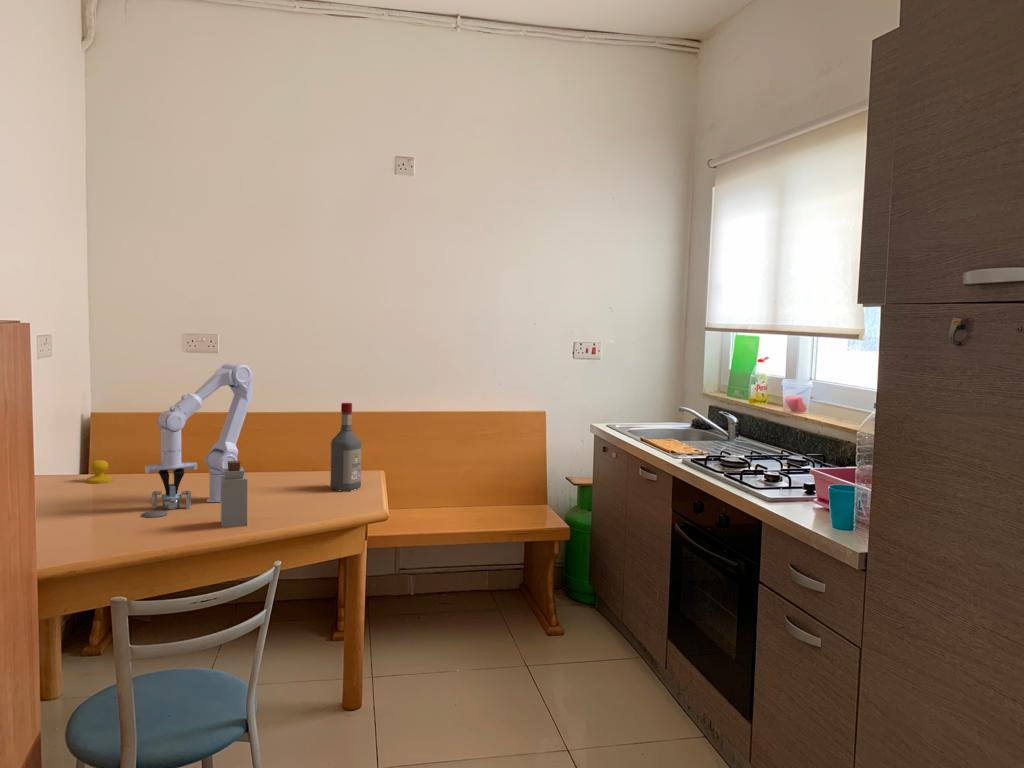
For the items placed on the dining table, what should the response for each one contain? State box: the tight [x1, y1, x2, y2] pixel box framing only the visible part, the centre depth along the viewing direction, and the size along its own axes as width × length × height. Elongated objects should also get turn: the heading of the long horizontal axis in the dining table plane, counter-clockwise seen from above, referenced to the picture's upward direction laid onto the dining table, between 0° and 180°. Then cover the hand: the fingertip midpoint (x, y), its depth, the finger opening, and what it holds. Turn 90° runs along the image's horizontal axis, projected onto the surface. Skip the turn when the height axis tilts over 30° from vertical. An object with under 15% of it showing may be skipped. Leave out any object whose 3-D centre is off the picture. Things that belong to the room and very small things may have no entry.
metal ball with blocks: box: [151, 490, 192, 511], centre depth 242 cm, size 11×5×5 cm, turn 101°
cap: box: [161, 483, 182, 501], centre depth 241 cm, size 8×6×4 cm
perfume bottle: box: [220, 460, 248, 529], centre depth 226 cm, size 7×7×18 cm
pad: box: [141, 510, 169, 519], centre depth 233 cm, size 7×7×1 cm
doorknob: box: [86, 459, 113, 485], centre depth 275 cm, size 8×8×8 cm
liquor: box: [329, 402, 362, 492], centre depth 274 cm, size 9×9×30 cm
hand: (171, 494), depth 241 cm, fingers closed on cap, 2 cm apart
